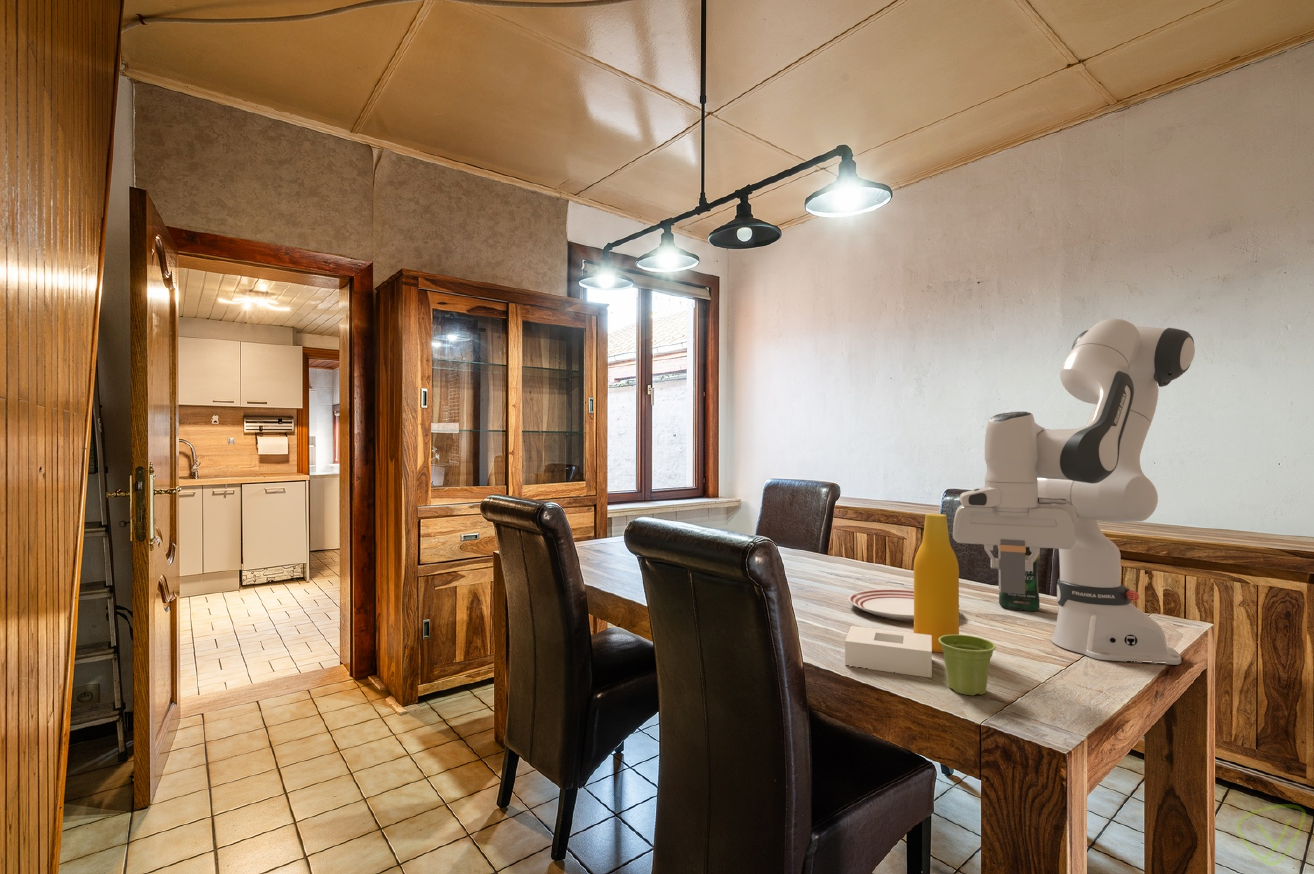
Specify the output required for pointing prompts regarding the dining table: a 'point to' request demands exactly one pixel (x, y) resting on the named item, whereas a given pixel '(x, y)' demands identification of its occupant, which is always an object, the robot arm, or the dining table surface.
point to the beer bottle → (936, 583)
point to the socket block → (889, 651)
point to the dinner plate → (886, 603)
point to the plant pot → (967, 662)
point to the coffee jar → (1031, 595)
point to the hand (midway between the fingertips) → (1011, 569)
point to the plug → (1012, 566)
